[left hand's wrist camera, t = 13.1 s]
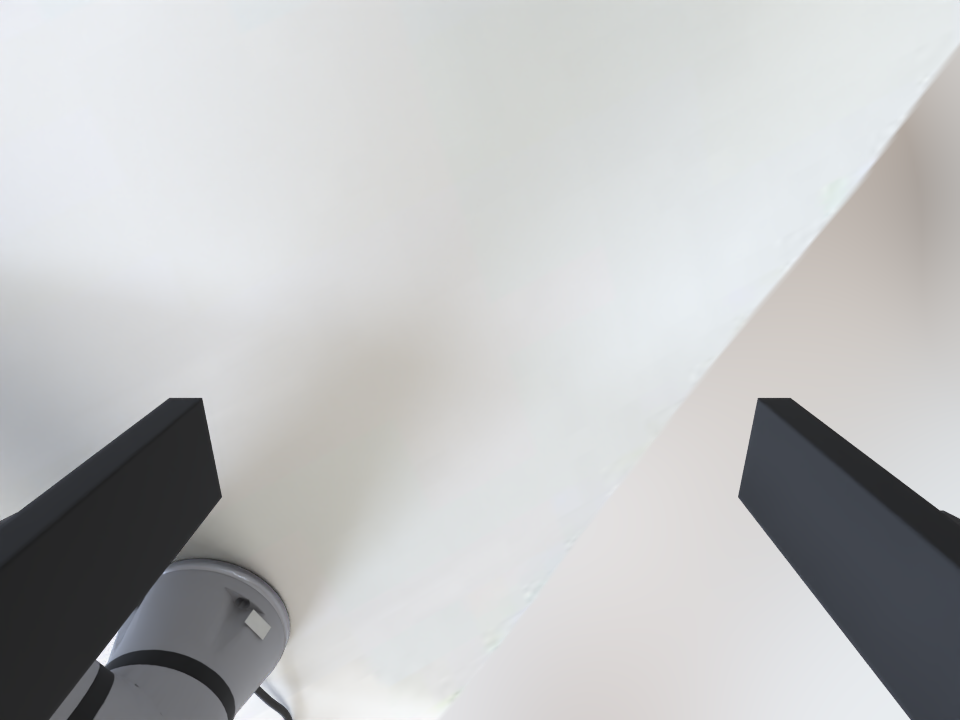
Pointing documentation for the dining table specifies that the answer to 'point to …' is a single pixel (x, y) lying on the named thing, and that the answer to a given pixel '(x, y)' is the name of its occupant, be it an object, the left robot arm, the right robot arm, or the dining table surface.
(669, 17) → the dining table surface
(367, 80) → the dining table surface
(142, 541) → the left robot arm
